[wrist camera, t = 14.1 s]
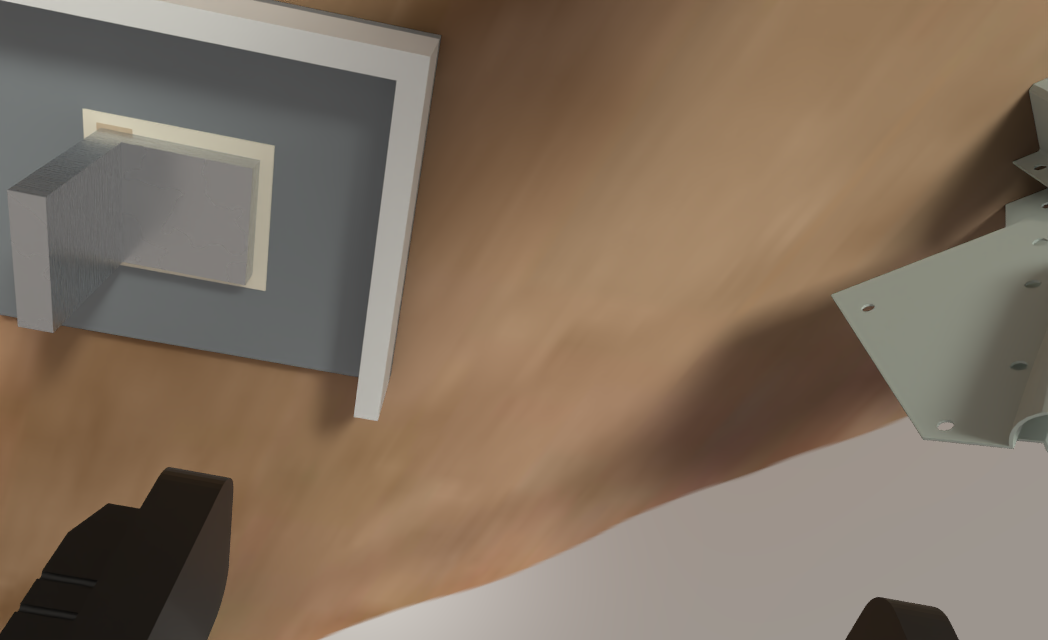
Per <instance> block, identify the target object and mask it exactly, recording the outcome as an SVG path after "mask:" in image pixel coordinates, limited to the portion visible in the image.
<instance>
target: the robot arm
mask: <svg viewBox="0 0 1048 640" xmlns="http://www.w3.org/2000/svg"><path fill="white" fill-rule="evenodd" d="M232 503H233V481H232V479H231V478H227V477H221V476H216V475H210V474H205V473H199V472H193V471H188V470H182V469H177V468H171V467H168V468H166V469H165V470H164V471H163V472H162V473H161V474H160V476H159V477H158V479H157V481H156V482H155V484H154V486H153V488H152V489H151V491H150V493H149V494H148V496H147V498H146V499H145V501H144V503H143V505H142V506H141V508H140V509H138V508H132V507H126V506H121V505H115V504H109V503H108V504H107V505H105V506H104V507H103V508H101V509H100V510H98V511H97V512H96V513H94V514H93V515H92V516H90V517H89V518H87V519H86V520H85V521H83V522H82V523H81V524H79V525H78V526H76V527H75V528H74V529H72V530H71V531H70V532H68V533H67V535H66V536H65V538H64V539H63V541H62V542H61V544H60V545H59V547H58V548H57V550H56V551H55V553H54V554H53V556H52V557H51V559H50V560H49V562H48V563H47V565H46V566H45V568H44V569H43V571H42V575H41V577H40V579H37V580H36V581H35V582H34V584H33V585H32V587H31V588H30V590H29V591H28V593H27V594H26V596H25V597H24V599H23V600H22V602H21V605H20V609H19V611H18V612H14V614H13V615H12V617H11V618H10V620H9V621H8V623H7V624H6V626H5V627H4V629H3V630H2V632H1V633H0V640H207V639H208V636H209V634H210V632H211V629H212V627H213V624H214V622H215V619H216V617H217V614H218V611H219V608H220V605H221V601H222V598H223V594H224V590H225V585H226V581H227V575H228V568H229V553H230V536H231V520H232ZM846 640H959V639H958V637H957V635H956V633H955V631H954V629H953V627H952V625H951V623H950V621H949V619H948V618H947V616H946V615H945V614H944V613H943V612H942V611H941V610H940V609H938V608H936V607H932V606H926V605H921V604H915V603H909V602H904V601H898V600H893V599H887V598H881V597H877V598H874V599H872V600H871V601H870V602H869V603H868V604H867V605H866V606H865V608H864V610H863V611H862V613H861V615H860V616H859V618H858V619H857V621H856V623H855V624H854V626H853V628H852V630H851V631H850V633H849V634H848V636H847V638H846Z"/></svg>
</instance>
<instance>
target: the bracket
mask: <svg viewBox="0 0 1048 640" xmlns="http://www.w3.org/2000/svg"><path fill="white" fill-rule="evenodd" d="M1029 95H1030V100H1031V105H1032V110H1033V115H1034V120H1035V126H1036V131H1037V136H1038V141H1039V146H1040V149H1039V151H1038V152H1035V153H1033V154H1030V155H1028V156H1026V157H1023V158H1021V159H1018V160H1016V161H1013V164H1014V165H1016V166H1017V167H1019V168H1020V169H1022V170H1023V171H1025V172H1026V173H1028V174H1029V175H1030V176H1032V177H1033V178H1035V179H1036V180H1038V181H1039V182H1041V183H1042V184H1044V185H1045V186H1047V187H1048V78H1047V79H1044V80H1042V81H1039V82H1037V83H1035V84H1033V85H1032V87H1031V88H1030V90H1029ZM1039 166H1047V167H1046V168H1044V169H1041V170H1034V169H1035V168H1037V167H1039ZM1047 204H1048V188H1047V189H1044V190H1042V191H1039V192H1037V193H1034V194H1031V195H1029V196H1026V197H1024V198H1021V199H1019V200H1016V201H1014V202H1011V203H1008V204H1006V227H1005V228H1002V229H1000V230H997V231H995V232H992V233H989V234H987V235H984V236H982V237H979V238H977V239H974V240H971V241H969V242H966V243H964V244H961V245H958V246H956V247H953V248H951V249H948V250H946V251H943V252H940V253H938V254H935V255H933V256H930V257H927V258H925V259H922V260H920V261H917V262H914V263H912V264H909V265H907V266H904V267H902V268H899V269H896V270H894V271H891V272H889V273H886V274H883V275H881V276H878V277H876V278H873V279H870V280H868V281H865V282H863V283H860V284H858V285H855V286H852V287H850V288H847V289H845V290H842V291H839V292H837V293H834V294H832V295H831V296H832V298H833V300H834V301H835V303H836V304H837V306H838V307H839V309H840V311H841V312H842V314H843V315H844V317H845V318H846V320H847V321H848V323H849V325H850V326H851V328H852V329H853V331H854V332H855V334H856V336H857V337H858V339H859V340H860V342H861V343H862V345H863V346H864V348H865V350H866V351H867V353H868V354H869V356H870V357H871V359H872V361H873V362H874V364H875V365H876V367H877V368H878V370H879V371H880V373H881V375H882V376H883V378H884V379H885V381H886V382H887V384H888V386H889V387H890V389H891V390H892V392H893V393H894V395H895V396H896V398H897V400H898V401H899V403H900V404H901V406H902V407H903V409H904V411H905V412H906V414H907V415H908V417H909V418H910V420H911V421H912V423H913V424H914V426H915V427H916V429H917V431H918V432H919V434H920V436H921V437H922V439H923V440H933V441H942V442H952V443H961V444H970V445H980V446H990V447H999V448H1009V449H1014V447H1015V444H1016V441H1026V442H1036V443H1044V446H1045V449H1046V451H1047V452H1048V208H1042V207H1043V206H1044V205H1047ZM867 306H874V309H872V310H870V311H867V312H866V311H862V310H863V308H865V307H867ZM944 422H950V423H953V424H954V426H953V427H952V429H950V430H946V431H943V430H939V429H938V428H937V427H938V426H939V425H940V424H941V423H944Z"/></svg>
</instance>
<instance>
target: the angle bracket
mask: <svg viewBox="0 0 1048 640" xmlns="http://www.w3.org/2000/svg"><path fill="white" fill-rule="evenodd" d="M259 170H260V160H257V159H252V158H247V157H242V156H237V155H232V154H228V153H223V152H218V151H213V150H208V149H203V148H198V147H193V146H188V145H183V144H178V143H173V142H169V141H164V140H159V139H154V138H149V137H144V136H139V135H134V134H129V133H124V132H119V131H114V130H110V129H105V128H100V129H98V130H97V131H95V132H94V133H92V134H91V135H89V136H88V137H86V138H85V139H83V140H81V141H80V142H78V143H77V144H75V145H74V146H72V147H71V148H69V149H68V150H66V151H65V152H63V153H62V154H60V155H59V156H57V157H56V158H54V159H53V160H51V161H50V162H48V163H47V164H45V165H44V166H42V167H41V168H39V169H38V170H36V171H35V172H33V173H32V174H30V175H29V176H27V177H26V178H24V179H23V180H21V181H20V182H18V183H17V184H15V185H14V186H12V187H11V188H9V189H8V190H7V196H8V209H9V221H10V234H11V246H12V258H13V271H14V283H15V295H16V308H17V320H18V327H23V328H29V329H34V330H40V331H45V332H51V333H54V332H55V331H56V330H57V329H58V328H59V327H60V326H61V325H62V324H63V323H64V322H65V321H66V320H67V319H68V318H69V316H70V315H71V314H72V313H73V312H74V311H75V310H76V309H77V308H78V307H79V306H80V305H81V304H82V303H83V302H84V301H85V300H86V299H87V298H88V297H89V296H90V295H91V294H92V293H93V292H94V291H95V290H96V289H97V288H98V287H99V286H100V285H101V284H102V283H103V282H104V281H105V280H106V279H107V278H108V277H109V276H110V275H111V274H112V272H113V271H114V270H115V269H116V268H117V267H118V266H119V265H120V264H121V263H122V262H125V263H130V264H136V265H141V266H146V267H152V268H157V269H162V270H167V271H173V272H178V273H183V274H188V275H194V276H199V277H204V278H209V279H215V280H220V281H225V282H230V283H236V284H241V285H246V284H247V282H248V280H249V279H250V277H251V276H252V273H253V258H254V244H255V229H256V214H257V199H258V184H259Z"/></svg>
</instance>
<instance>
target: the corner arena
mask: <svg viewBox="0 0 1048 640" xmlns="http://www.w3.org/2000/svg"><path fill="white" fill-rule="evenodd" d="M440 41H441V35H437V34H432V33H428V32H423V31H418V30H413V29H408V28H404V27H399V26H394V25H389V24H384V23H380V22H375V21H370V20H365V19H360V18H356V17H351V16H346V15H341V14H336V13H332V12H327V11H322V10H317V9H312V8H308V7H303V6H298V5H293V4H288V3H284V2H279V1H274V0H0V315H5V316H11V317H16V318H17V308H16V295H15V283H14V271H13V258H12V246H11V234H10V221H9V209H8V196H7V190H8V189H9V188H11V187H12V186H14V185H15V184H17V183H18V182H20V181H21V180H23V179H24V178H26V177H27V176H29V175H30V174H32V173H33V172H35V171H36V170H38V169H39V168H41V167H42V166H44V165H45V164H47V163H48V162H50V161H51V160H53V159H54V158H56V157H57V156H59V155H60V154H62V153H63V152H65V151H66V150H68V149H69V148H71V147H72V146H74V145H75V144H77V143H78V142H80V141H81V140H83V139H85V138H86V137H88V136H89V135H91V134H92V133H94V132H95V131H97V130H98V129H100V128H105V129H110V130H114V131H119V132H124V133H129V134H134V135H139V136H144V137H149V138H154V139H159V140H164V141H169V142H173V143H178V144H183V145H188V146H193V147H198V148H203V149H208V150H213V151H218V152H223V153H228V154H232V155H237V156H242V157H247V158H252V159H257V160H260V170H259V184H258V199H257V214H256V229H255V244H254V258H253V273H252V276H251V277H250V279H249V280H248V282H247V284H246V285H241V284H236V283H230V282H225V281H220V280H215V279H209V278H204V277H199V276H194V275H188V274H183V273H178V272H173V271H167V270H162V269H157V268H152V267H146V266H141V265H136V264H130V263H125V262H122V263H121V264H120V265H119V266H118V267H117V268H116V269H115V270H114V271H113V272H112V274H111V275H110V276H109V277H108V278H107V279H106V280H105V281H104V282H103V283H102V284H101V285H100V286H99V287H98V288H97V289H96V290H95V291H94V292H93V293H92V294H91V295H90V296H89V297H88V298H87V299H86V300H85V301H84V302H83V303H82V304H81V305H80V306H79V307H78V308H77V309H76V310H75V311H74V312H73V313H72V314H71V315H70V316H69V318H68V319H67V320H66V321H65V322H64V323H63V324H62V326H68V327H74V328H80V329H85V330H91V331H97V332H102V333H108V334H114V335H120V336H125V337H131V338H137V339H143V340H148V341H154V342H160V343H166V344H171V345H177V346H183V347H188V348H194V349H200V350H206V351H211V352H217V353H223V354H229V355H234V356H240V357H246V358H252V359H257V360H263V361H269V362H275V363H280V364H286V365H292V366H297V367H303V368H309V369H315V370H320V371H326V372H332V373H338V374H343V375H349V376H355V377H359V379H358V387H357V395H356V403H355V411H354V417H357V418H363V419H369V420H375V421H378V419H379V415H380V412H381V408H382V404H383V401H384V397H385V394H386V390H387V386H388V383H389V379H390V376H391V370H392V363H393V356H394V350H395V343H396V336H397V330H398V323H399V316H400V309H401V303H402V296H403V289H404V283H405V276H406V269H407V262H408V256H409V249H410V242H411V236H412V229H413V222H414V215H415V209H416V202H417V195H418V189H419V182H420V175H421V168H422V162H423V155H424V148H425V142H426V135H427V128H428V121H429V115H430V108H431V101H432V95H433V88H434V81H435V74H436V68H437V61H438V54H439V48H440Z"/></svg>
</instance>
